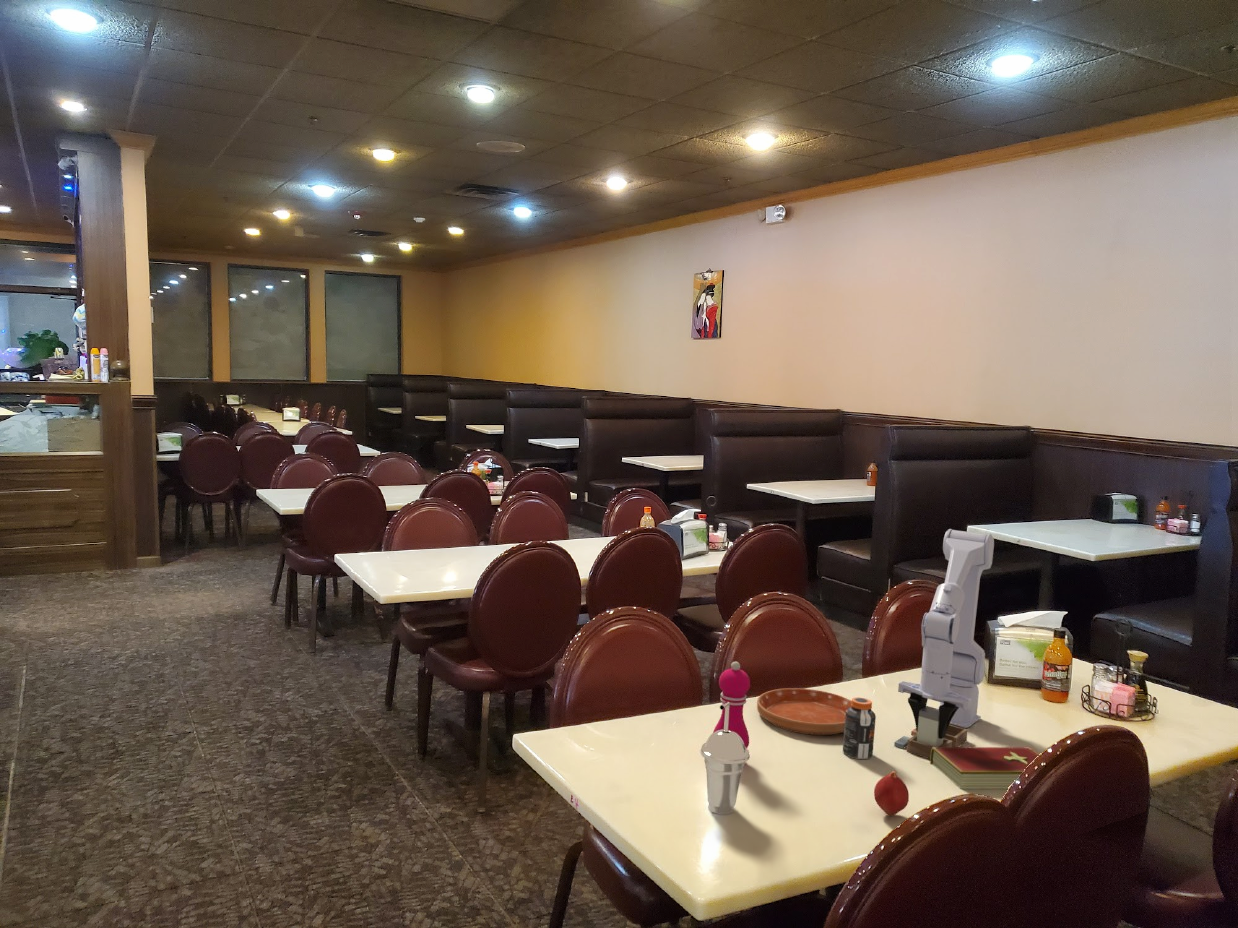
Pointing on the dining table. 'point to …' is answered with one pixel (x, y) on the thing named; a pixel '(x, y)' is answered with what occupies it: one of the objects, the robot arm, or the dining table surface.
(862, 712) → the pill bottle
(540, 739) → the dining table surface
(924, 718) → the plug
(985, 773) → the hardcover book
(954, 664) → the robot arm
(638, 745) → the dining table surface
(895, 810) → the onion
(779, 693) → the saucer
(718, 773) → the cup with straw
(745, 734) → the pepper mill
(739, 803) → the dining table surface
